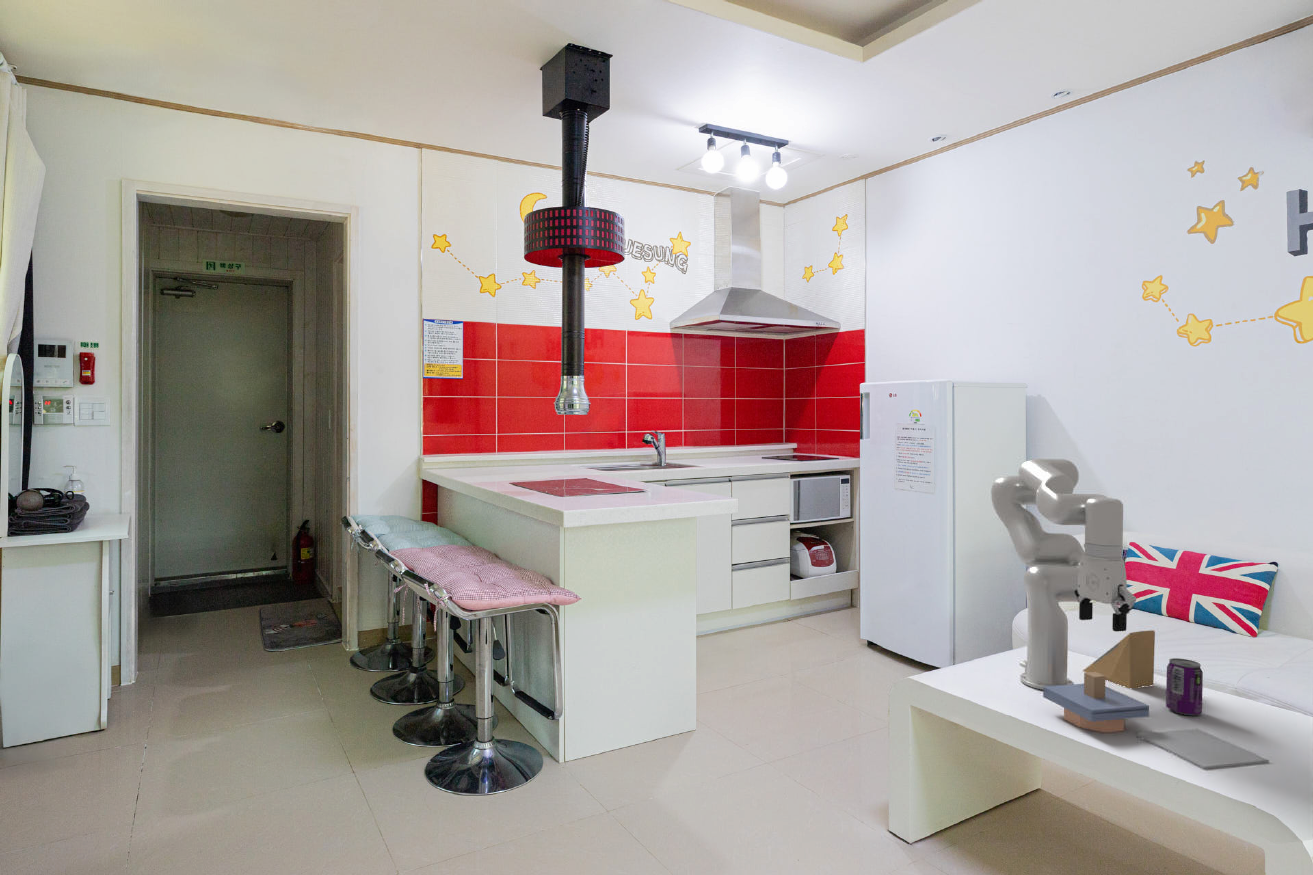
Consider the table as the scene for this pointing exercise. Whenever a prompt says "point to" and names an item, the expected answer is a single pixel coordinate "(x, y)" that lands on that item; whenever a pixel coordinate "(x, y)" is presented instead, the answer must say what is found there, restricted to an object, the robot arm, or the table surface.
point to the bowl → (1094, 723)
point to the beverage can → (1184, 686)
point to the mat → (1202, 748)
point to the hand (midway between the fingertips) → (1102, 625)
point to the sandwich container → (1128, 661)
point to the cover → (1095, 700)
